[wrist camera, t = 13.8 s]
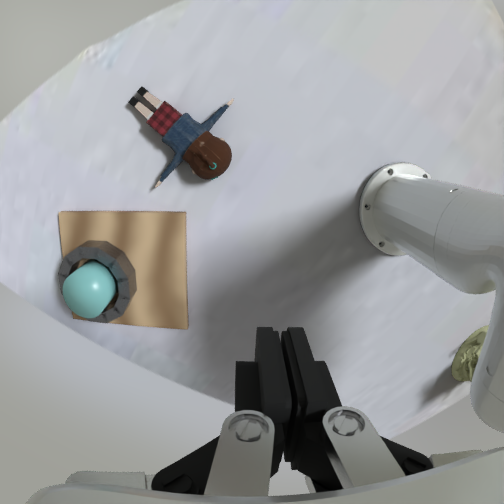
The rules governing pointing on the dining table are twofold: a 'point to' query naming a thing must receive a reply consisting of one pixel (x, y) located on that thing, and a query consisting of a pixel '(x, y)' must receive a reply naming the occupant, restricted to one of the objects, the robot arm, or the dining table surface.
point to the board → (140, 259)
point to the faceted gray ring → (118, 267)
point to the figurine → (468, 355)
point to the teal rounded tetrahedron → (90, 289)
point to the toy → (187, 138)
